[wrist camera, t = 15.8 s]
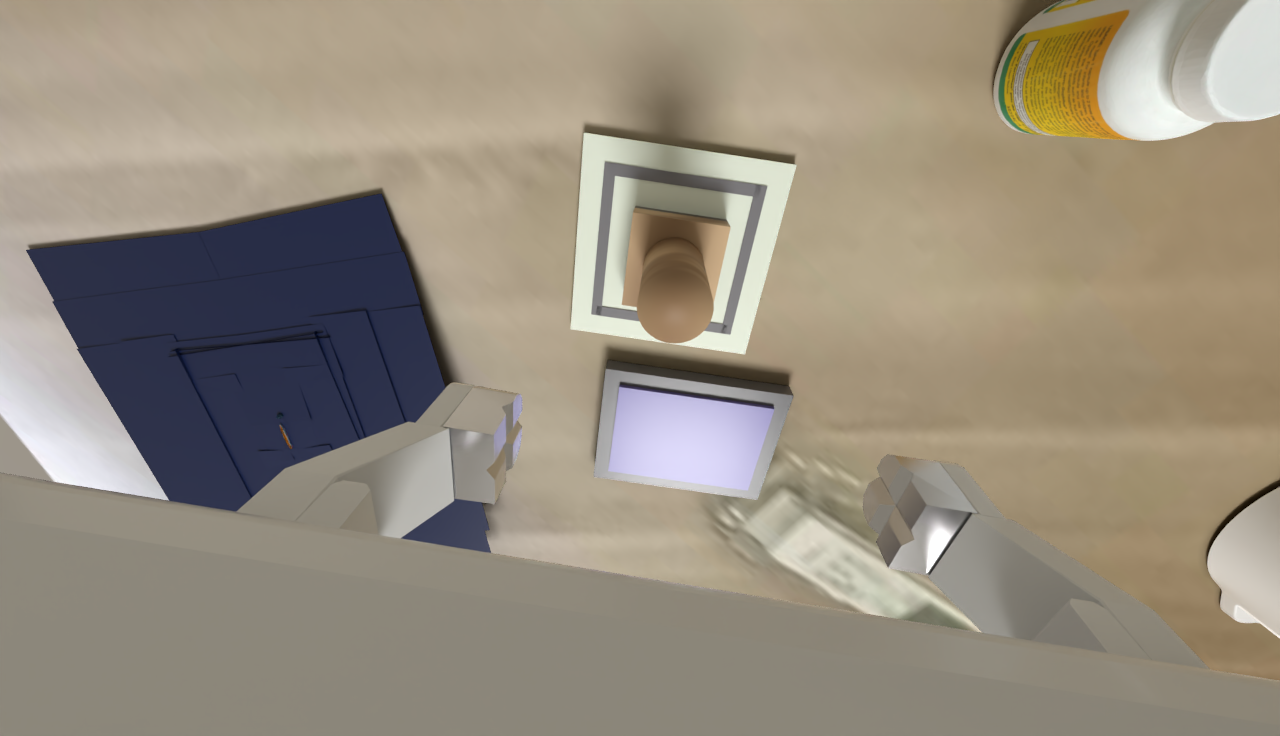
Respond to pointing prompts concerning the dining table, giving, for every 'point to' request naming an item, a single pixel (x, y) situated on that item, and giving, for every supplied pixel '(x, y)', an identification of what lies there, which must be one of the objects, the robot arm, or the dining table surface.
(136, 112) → the dining table surface
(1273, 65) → the supplement bottle
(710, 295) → the stamp
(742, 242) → the print card
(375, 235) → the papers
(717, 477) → the ink pad
